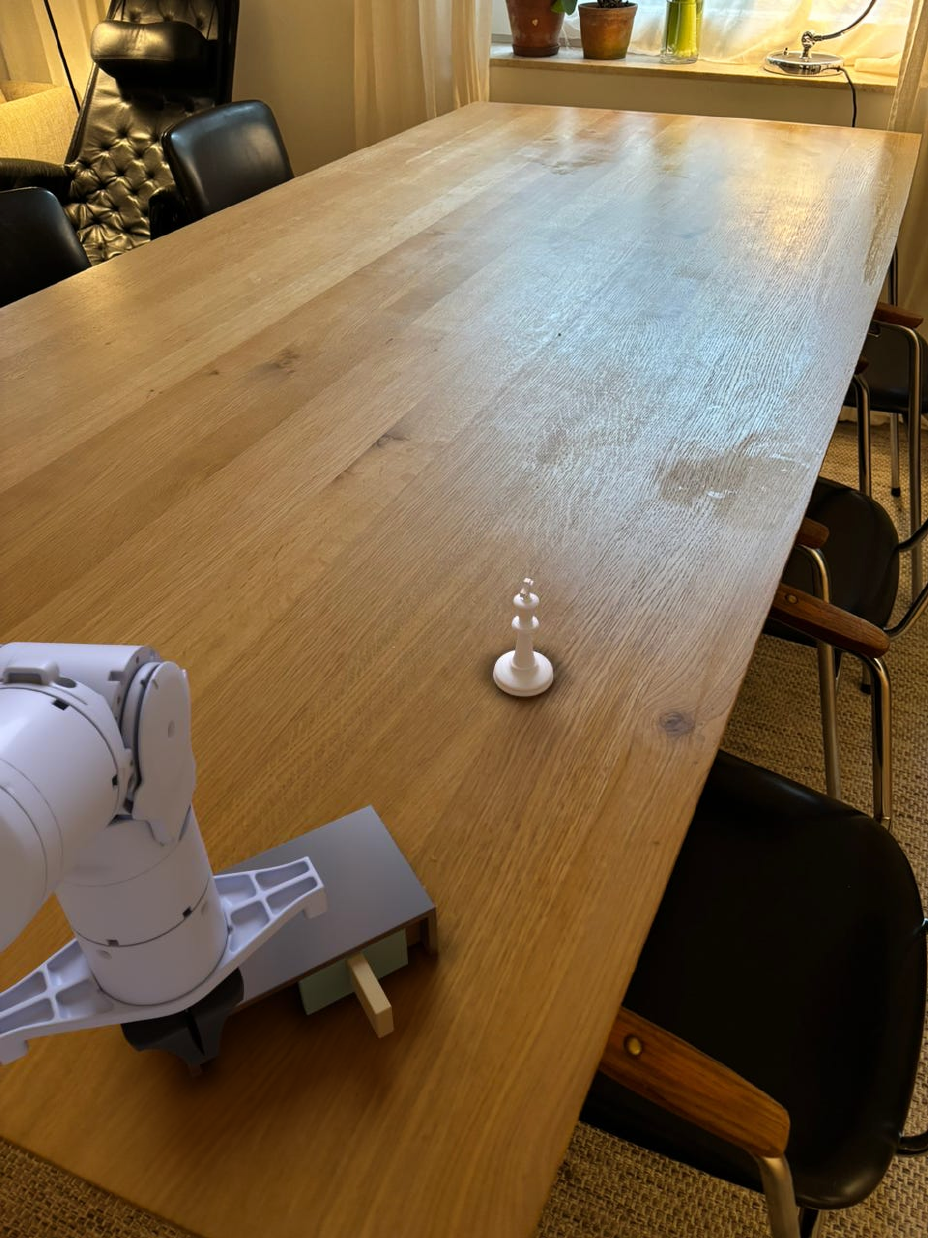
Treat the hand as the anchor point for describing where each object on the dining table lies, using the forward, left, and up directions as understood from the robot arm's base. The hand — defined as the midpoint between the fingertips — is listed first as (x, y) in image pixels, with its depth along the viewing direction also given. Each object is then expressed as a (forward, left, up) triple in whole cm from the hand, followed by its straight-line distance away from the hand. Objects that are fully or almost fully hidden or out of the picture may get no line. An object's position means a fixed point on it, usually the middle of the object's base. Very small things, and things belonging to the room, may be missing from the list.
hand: (199, 1044), depth 49 cm
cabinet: (+7, +8, -9) cm, 14 cm away
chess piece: (+33, +22, -10) cm, 41 cm away
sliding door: (+9, +2, -9) cm, 13 cm away
